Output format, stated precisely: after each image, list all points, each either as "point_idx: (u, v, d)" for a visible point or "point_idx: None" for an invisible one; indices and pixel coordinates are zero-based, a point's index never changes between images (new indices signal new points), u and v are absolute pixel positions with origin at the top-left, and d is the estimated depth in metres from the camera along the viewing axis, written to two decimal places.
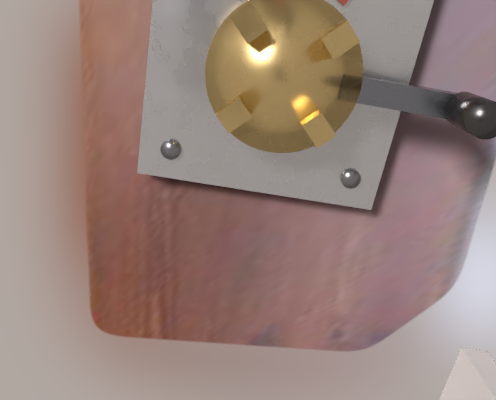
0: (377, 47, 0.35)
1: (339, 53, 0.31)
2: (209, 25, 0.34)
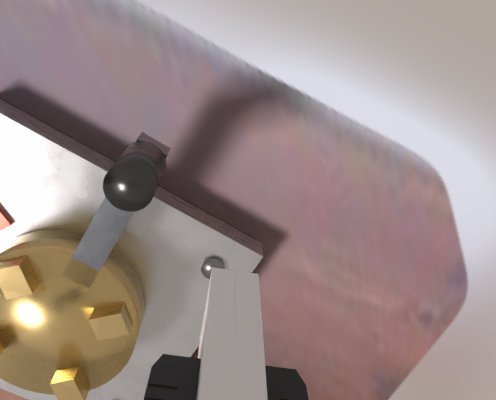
0: (66, 200, 0.30)
1: (26, 287, 0.27)
2: None
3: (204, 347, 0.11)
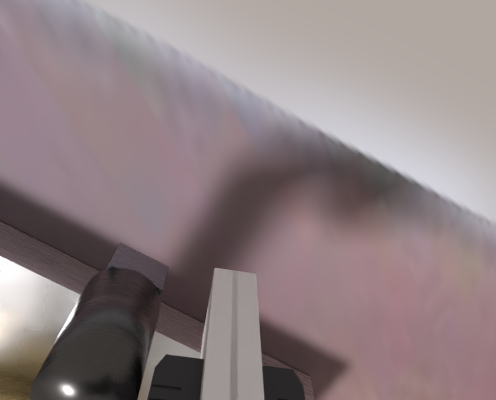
0: (12, 334, 0.19)
1: None
2: None
3: (207, 348, 0.11)
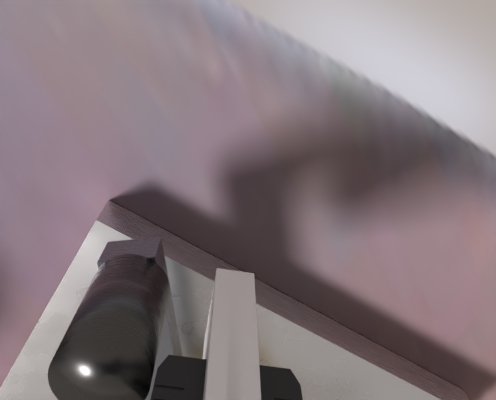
0: None
1: None
2: None
3: (210, 348, 0.11)
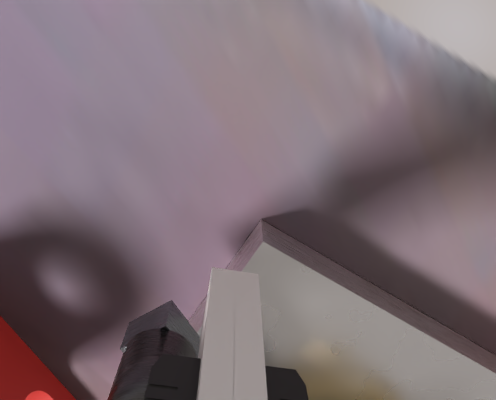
0: (359, 373, 0.20)
1: None
2: None
3: (204, 347, 0.11)
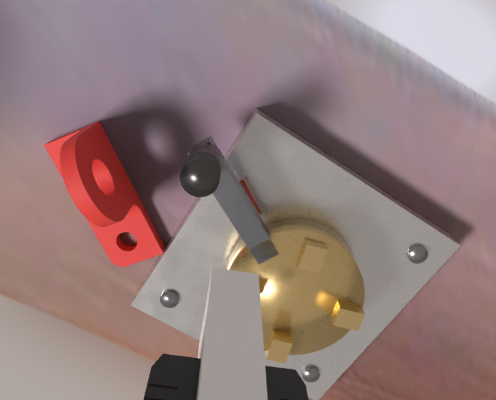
0: (309, 195, 0.37)
1: None
2: None
3: (204, 347, 0.11)
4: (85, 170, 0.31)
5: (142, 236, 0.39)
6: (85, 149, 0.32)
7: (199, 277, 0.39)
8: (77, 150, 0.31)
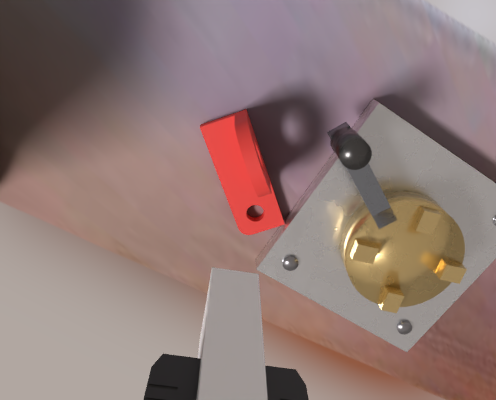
0: (416, 171, 0.44)
1: (373, 249, 0.42)
2: (341, 273, 0.48)
3: (204, 347, 0.11)
4: (255, 148, 0.38)
5: (269, 209, 0.46)
6: (251, 132, 0.39)
7: (317, 244, 0.46)
8: (250, 132, 0.38)
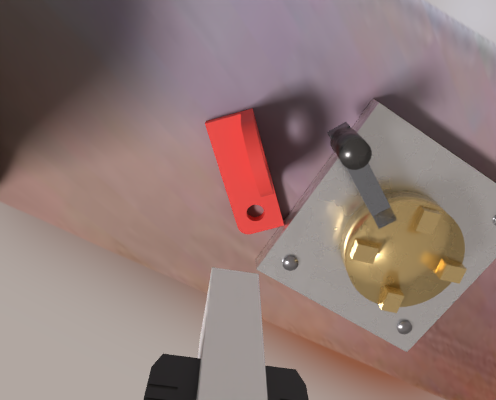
0: (416, 171, 0.44)
1: (373, 249, 0.42)
2: (341, 273, 0.48)
3: (204, 347, 0.11)
4: (261, 148, 0.38)
5: (269, 209, 0.46)
6: (257, 131, 0.39)
7: (317, 244, 0.46)
8: (256, 131, 0.38)
